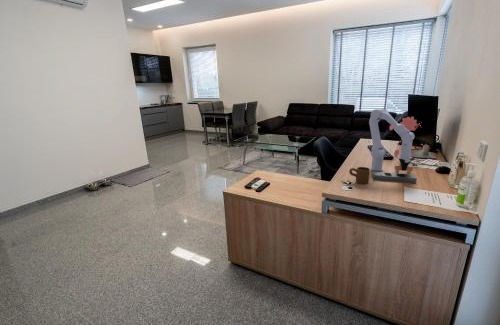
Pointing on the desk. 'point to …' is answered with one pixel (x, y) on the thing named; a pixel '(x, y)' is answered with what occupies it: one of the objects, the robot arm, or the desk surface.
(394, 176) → the grey slotted tapered plate
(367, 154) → the desk surface
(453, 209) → the desk surface
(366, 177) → the mug
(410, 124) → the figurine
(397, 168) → the tan tabbed block
